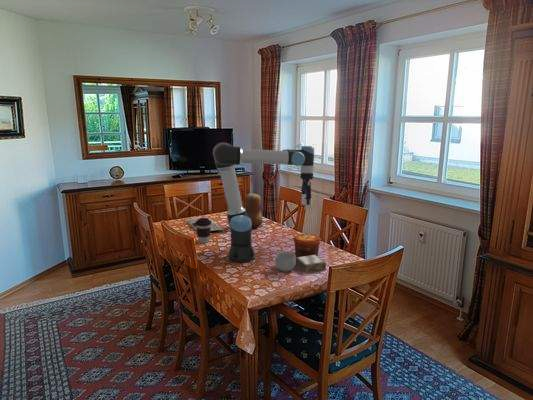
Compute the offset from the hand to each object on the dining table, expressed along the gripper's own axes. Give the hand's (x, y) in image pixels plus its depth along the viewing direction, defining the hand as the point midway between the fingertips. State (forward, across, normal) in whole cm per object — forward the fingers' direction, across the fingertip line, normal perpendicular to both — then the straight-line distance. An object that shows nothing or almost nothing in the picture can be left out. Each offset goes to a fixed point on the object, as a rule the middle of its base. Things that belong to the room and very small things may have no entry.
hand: (305, 207), depth 224 cm
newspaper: (+26, +47, +64) cm, 84 cm away
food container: (+25, -15, +1) cm, 29 cm away
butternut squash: (+26, +41, +30) cm, 57 cm away
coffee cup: (+26, +13, +63) cm, 69 cm away
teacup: (+25, -34, +16) cm, 45 cm away
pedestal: (+25, -33, +2) cm, 41 cm away
